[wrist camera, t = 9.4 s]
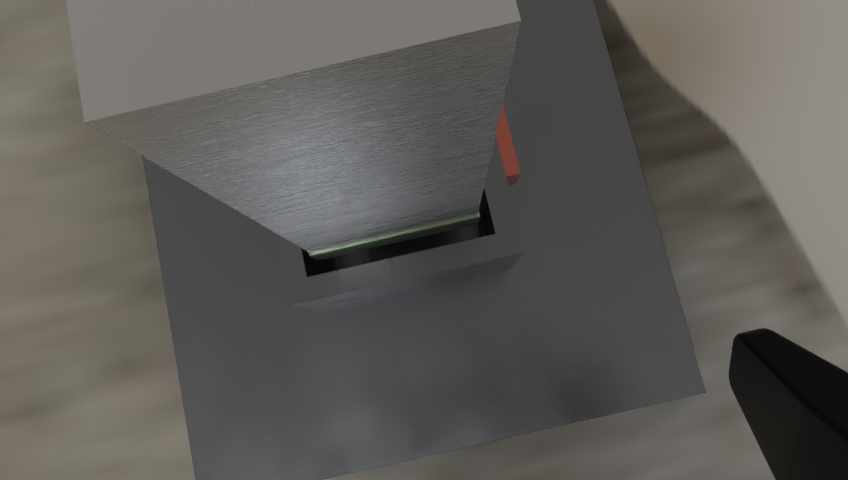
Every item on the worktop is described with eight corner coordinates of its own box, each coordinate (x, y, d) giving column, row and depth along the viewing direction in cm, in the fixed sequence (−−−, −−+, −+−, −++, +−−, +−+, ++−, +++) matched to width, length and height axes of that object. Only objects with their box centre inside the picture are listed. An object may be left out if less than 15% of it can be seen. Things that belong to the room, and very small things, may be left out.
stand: (691, 389, 21) (786, 410, 15) (214, 497, 21) (121, 561, 15) (566, -51, 23) (606, -182, 17) (139, 49, 23) (33, -48, 18)
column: (478, 226, 16) (527, 24, 6) (320, 262, 16) (78, 129, 6) (441, 76, 17) (426, -356, 6) (290, 111, 17) (21, -260, 6)
